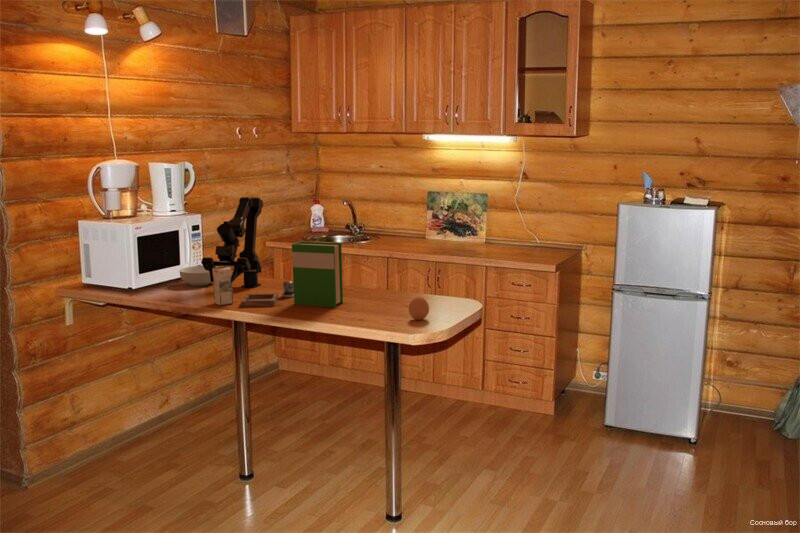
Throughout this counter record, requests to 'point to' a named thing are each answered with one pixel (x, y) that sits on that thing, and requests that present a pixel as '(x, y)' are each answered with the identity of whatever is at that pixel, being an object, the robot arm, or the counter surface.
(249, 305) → the socket tray
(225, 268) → the syrup box
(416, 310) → the egg
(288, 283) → the chuck post
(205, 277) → the cereal bowl
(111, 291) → the counter surface
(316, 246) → the hardback book
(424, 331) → the counter surface
